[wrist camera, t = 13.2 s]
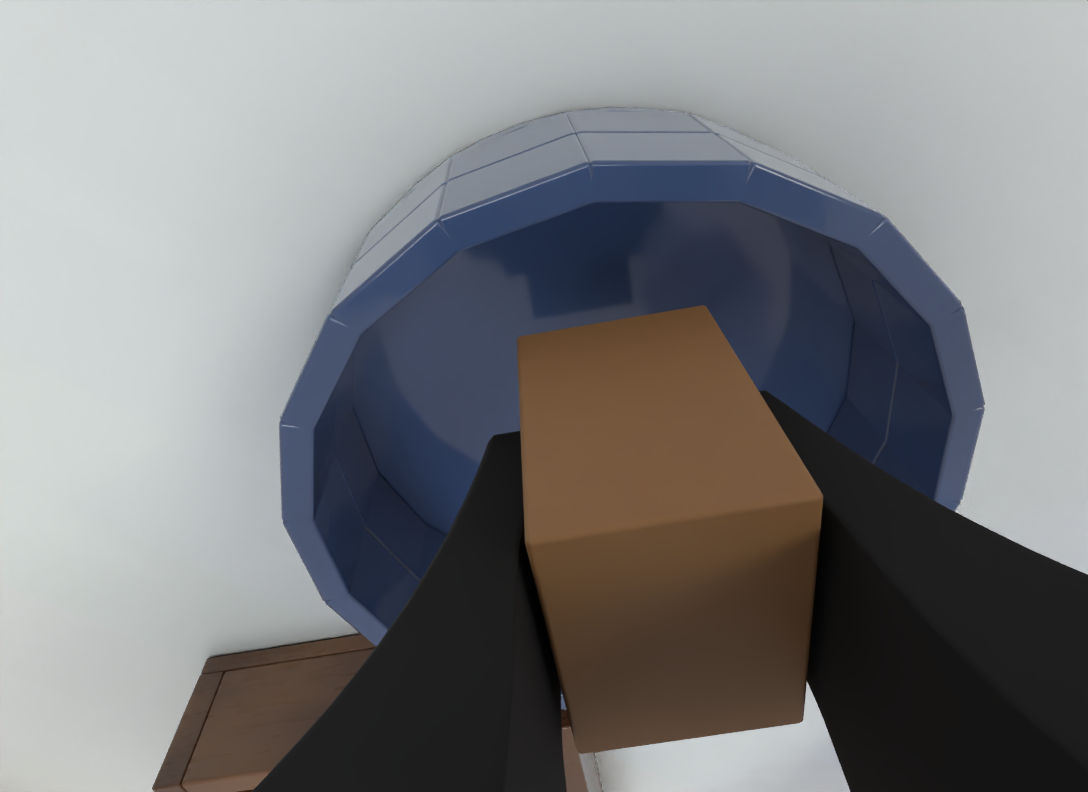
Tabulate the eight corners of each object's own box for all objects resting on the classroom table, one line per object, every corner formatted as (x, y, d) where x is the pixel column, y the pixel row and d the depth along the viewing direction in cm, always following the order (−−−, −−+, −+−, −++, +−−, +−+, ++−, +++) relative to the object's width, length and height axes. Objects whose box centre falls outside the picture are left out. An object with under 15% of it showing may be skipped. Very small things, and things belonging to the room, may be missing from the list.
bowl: (900, 44, 13) (1071, 74, 9) (841, 535, 20) (922, 667, 16) (239, 166, 13) (136, 244, 9) (416, 602, 20) (397, 745, 17)
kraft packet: (706, 302, 10) (827, 494, 6) (712, 495, 12) (805, 724, 9) (515, 334, 10) (523, 542, 7) (554, 520, 12) (577, 757, 9)
